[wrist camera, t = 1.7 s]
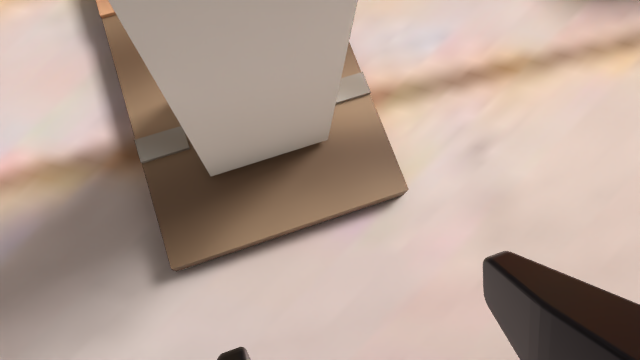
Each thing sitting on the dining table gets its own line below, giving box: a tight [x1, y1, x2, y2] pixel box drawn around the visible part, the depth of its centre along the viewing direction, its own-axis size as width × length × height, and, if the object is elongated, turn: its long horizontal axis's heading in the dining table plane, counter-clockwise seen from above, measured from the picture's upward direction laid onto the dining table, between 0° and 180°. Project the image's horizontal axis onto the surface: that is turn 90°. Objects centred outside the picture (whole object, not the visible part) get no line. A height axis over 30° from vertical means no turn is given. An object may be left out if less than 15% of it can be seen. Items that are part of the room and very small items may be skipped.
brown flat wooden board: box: [96, 0, 408, 271], centre depth 22 cm, size 17×10×1 cm, turn 19°
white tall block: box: [108, 0, 358, 176], centre depth 15 cm, size 4×5×12 cm
